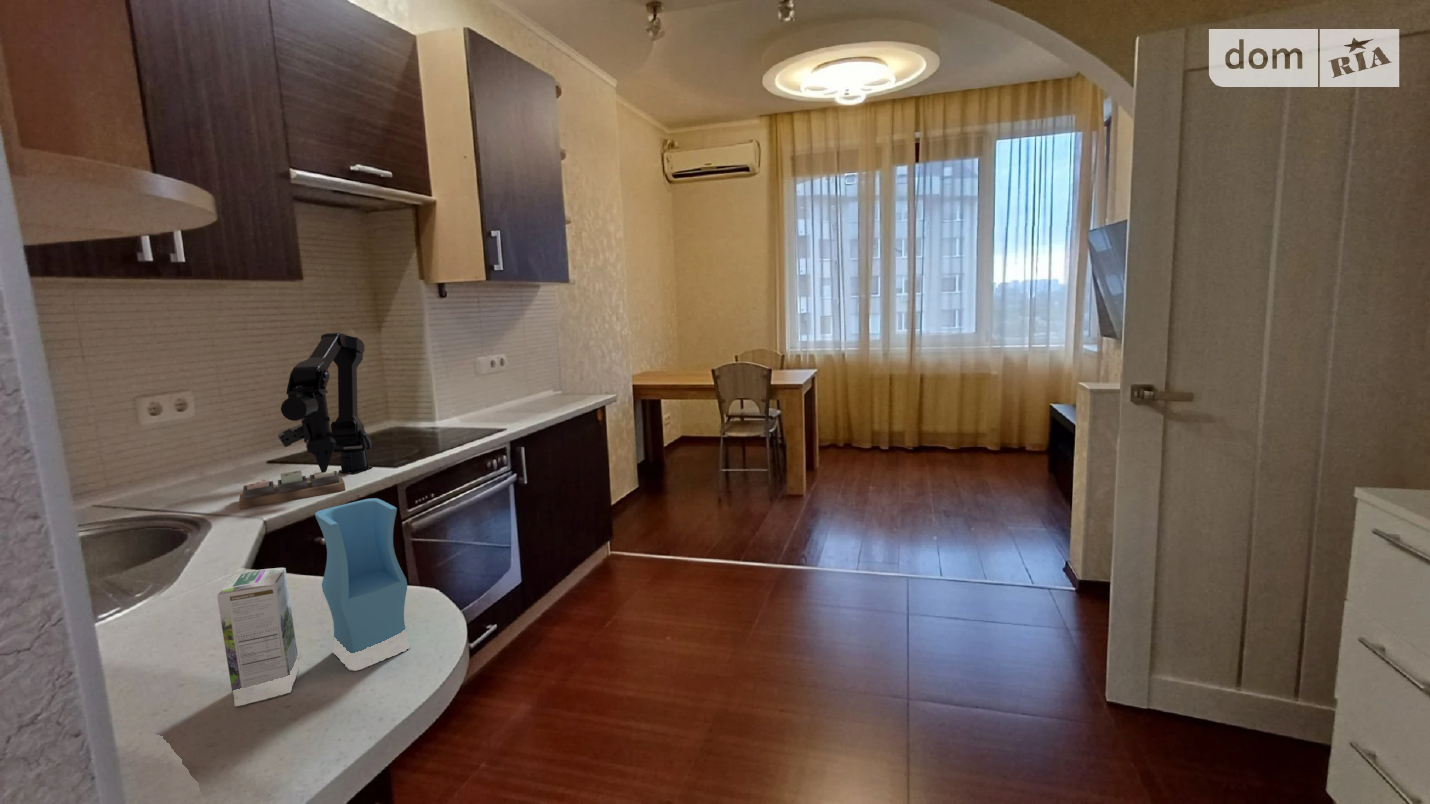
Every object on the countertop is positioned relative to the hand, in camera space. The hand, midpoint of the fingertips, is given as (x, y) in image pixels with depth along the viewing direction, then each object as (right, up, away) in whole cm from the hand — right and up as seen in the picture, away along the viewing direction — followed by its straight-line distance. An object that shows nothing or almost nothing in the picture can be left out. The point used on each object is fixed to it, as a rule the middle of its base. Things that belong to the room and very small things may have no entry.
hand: (323, 471), depth 161 cm
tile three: (-11, -4, -8) cm, 14 cm away
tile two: (-6, -2, -4) cm, 7 cm away
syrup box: (+48, -17, -85) cm, 99 cm away
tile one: (0, -2, 0) cm, 2 cm away
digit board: (-5, -6, -3) cm, 8 cm away
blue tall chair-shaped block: (+56, -16, -78) cm, 97 cm away
